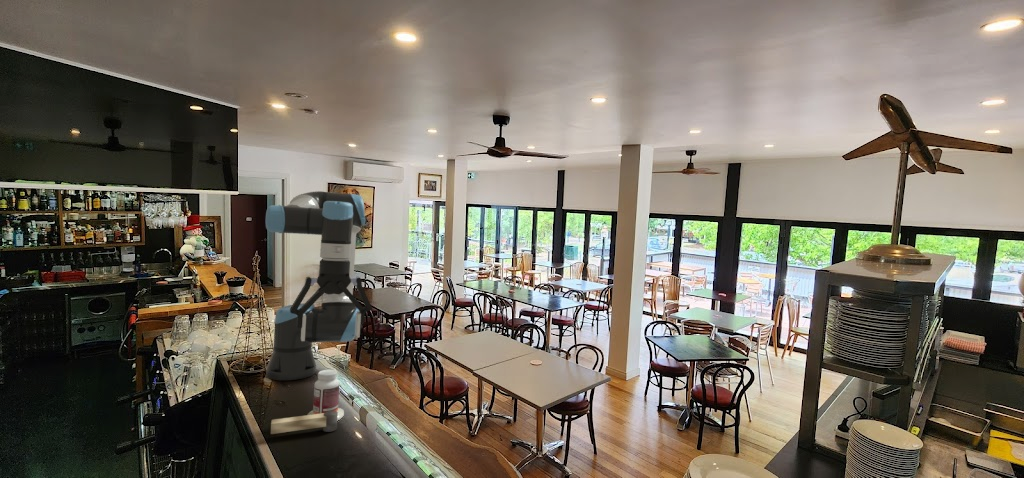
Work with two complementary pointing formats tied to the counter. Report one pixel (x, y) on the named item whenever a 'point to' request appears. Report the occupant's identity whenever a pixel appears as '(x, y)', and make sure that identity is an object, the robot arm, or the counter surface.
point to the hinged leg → (306, 422)
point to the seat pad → (340, 413)
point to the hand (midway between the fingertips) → (330, 338)
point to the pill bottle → (326, 392)
